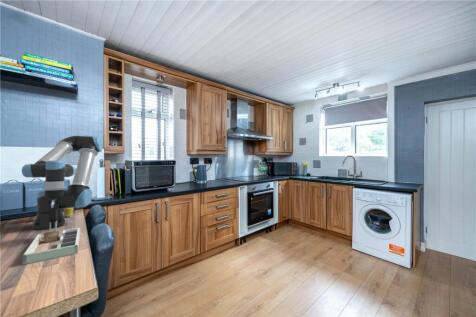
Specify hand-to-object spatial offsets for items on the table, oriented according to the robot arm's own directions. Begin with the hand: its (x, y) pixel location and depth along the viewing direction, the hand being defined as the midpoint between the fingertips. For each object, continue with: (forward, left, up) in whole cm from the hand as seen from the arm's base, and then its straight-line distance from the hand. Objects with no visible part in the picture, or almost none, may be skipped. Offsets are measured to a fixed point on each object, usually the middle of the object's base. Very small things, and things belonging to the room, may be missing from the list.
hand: (53, 233), depth 105 cm
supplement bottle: (-48, +4, -2) cm, 48 cm away
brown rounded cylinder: (+6, 0, -2) cm, 7 cm away
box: (+17, +3, -2) cm, 18 cm away
